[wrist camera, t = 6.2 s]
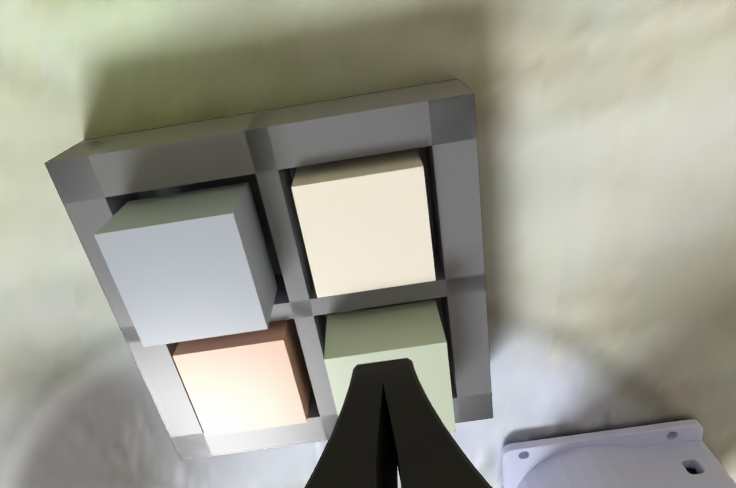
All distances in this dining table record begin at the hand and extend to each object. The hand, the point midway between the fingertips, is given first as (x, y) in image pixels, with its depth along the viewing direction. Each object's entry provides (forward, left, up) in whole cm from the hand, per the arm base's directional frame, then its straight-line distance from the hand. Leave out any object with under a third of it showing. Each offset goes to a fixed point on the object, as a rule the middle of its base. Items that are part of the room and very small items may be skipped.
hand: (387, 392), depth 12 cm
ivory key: (0, -2, -8) cm, 8 cm away
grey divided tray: (+3, +1, -8) cm, 9 cm away
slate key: (+6, -2, -6) cm, 9 cm away
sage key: (0, +4, -6) cm, 7 cm away
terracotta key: (+6, +4, -8) cm, 10 cm away
